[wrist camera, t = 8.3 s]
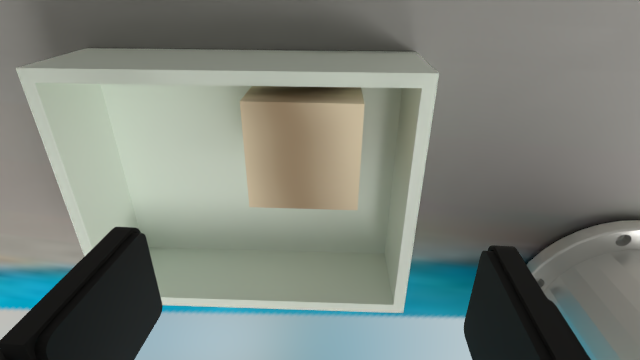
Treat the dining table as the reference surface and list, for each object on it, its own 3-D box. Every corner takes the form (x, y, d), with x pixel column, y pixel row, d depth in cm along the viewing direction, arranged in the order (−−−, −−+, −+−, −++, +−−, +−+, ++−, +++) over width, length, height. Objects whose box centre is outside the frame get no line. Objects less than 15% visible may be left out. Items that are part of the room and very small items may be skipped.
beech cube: (358, 75, 19) (364, 103, 15) (353, 163, 22) (357, 210, 17) (261, 73, 20) (239, 101, 15) (266, 161, 22) (249, 206, 18)
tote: (415, 51, 19) (439, 73, 15) (391, 255, 26) (403, 313, 21) (86, 48, 20) (15, 67, 16) (141, 248, 26) (101, 303, 22)
